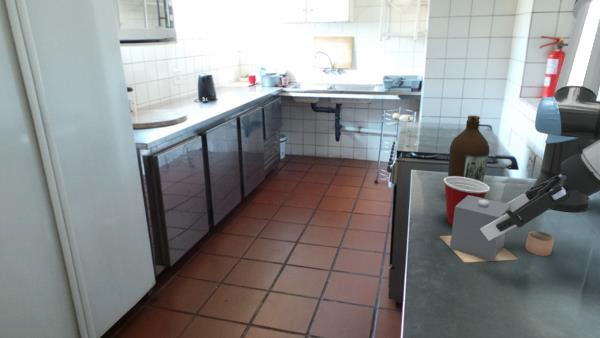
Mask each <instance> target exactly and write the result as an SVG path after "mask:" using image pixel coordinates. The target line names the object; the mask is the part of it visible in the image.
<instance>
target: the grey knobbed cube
mask: <svg viewBox="0 0 600 338" xmlns="http://www.w3.org/2000/svg"><path fill="white" fill-rule="evenodd" d="M510 206H511V205H510V204H506V203H504V202H502V201H501V202H500V201H498V200H492V199H487V198H485V197H484V198H479V197H475V196H470V195H468V196H467V197H466V198H464V199H463V200H462V201H461V202H460V203H459V204H457V205H456V206H455V211H454V219H453V225H451V227H452V228H451V234H450V236H451V241H450V247H449V249H451V250H452V249H453V250H456V251H460V252H463V253H466V254H469V255H473V256H476V257H479V258H482V259H486V260H489V261H488V262H494V261H493V260H494V259H495V257H496V256H497V255H498V253H499V252H500V250H501V249H502V247H504V245H505V239H506V234H507V232H505V233H503V234H501V235H499V236H497V237H495V238H493V239H491V240H488V239H487V238H486V237H485V235H484V234H483V233H482V231H481V230H480V229H481V228H482V227H484V226H486V225H488V224H489V223H491V222H493V221H495V220H497V219H499V218H500V217H502V216H504V215H506V214H507V213H506V211H508V210H510ZM453 250H452V251H453Z"/></svg>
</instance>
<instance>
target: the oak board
mask: <svg viewBox="0 0 600 338" xmlns="http://www.w3.org/2000/svg"><path fill="white" fill-rule="evenodd" d="M439 238H440V239H441V240H442V241H443V242H444V243H445V244H446V245H447V246H448V247H449V248H450V241H451V235H439ZM451 250H452V251H453V252H454V253H455V254H456V255H457V256H458V257H459V258H460V259H461V261H462V262H463V263H479V262H481V263H482V262H490V261H489V260H486V259H482V258H479V257H476V256H473V255H469V254H466V253H463V252H460V251H456V250H453V249H451ZM517 260H518V261H519V258H517V257H516V256H515V255H514V254H513V253H511V251H509V250H508V249H507V248H506V247H504V246H503V247H502V249H501V250H500V252H499V253H498V255H497V256H496V257H495V259H494V260H493V262H498V261H499V262H500V261H517Z"/></svg>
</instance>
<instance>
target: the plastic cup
mask: <svg viewBox="0 0 600 338" xmlns="http://www.w3.org/2000/svg"><path fill="white" fill-rule="evenodd" d="M443 183H444V188H445V191H444V193H445V201H446V202H445V205H446V207H445V208H446V211H445V212H446V219H447V220H446V221H447V223H448V224H450V225H451V226H453V219H454V211H455V206H456V205H457V204H459V203H460V202H461V201H462V200H463V199H464V198H466V197H467V196H468V195H470V196H475V197H479V198H484V199H485V196H487V195H486V194H487V193H488V192H490V191H491V190H490V186H489V185H488V184H486V183H485V182H484V181H483V182H480V181H477V180H474V179H471V178H466V177H458V176H450V177H448V176H446V177H444V179H443Z"/></svg>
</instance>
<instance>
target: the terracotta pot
mask: <svg viewBox="0 0 600 338" xmlns="http://www.w3.org/2000/svg"><path fill="white" fill-rule="evenodd" d="M554 241H555V238H554V236H553V235H551V234H548V233H546V232H543V231H538V230H534V231H529V232H528V233H527V238H526V243H525V250H526V251H527V252H528V253H531V254H534V255H538V256H547V257H548V256H550V255H552V251H553V248H554V247H553V246H554V243H555V242H554Z"/></svg>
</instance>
